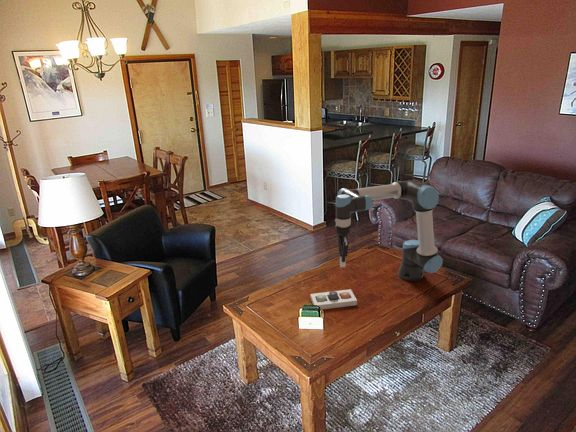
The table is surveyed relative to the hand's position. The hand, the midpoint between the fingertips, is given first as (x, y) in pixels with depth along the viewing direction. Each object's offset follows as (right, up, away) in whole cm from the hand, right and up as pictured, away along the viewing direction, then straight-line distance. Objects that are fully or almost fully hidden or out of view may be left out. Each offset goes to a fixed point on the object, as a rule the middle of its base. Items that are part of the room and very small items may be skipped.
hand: (342, 266), depth 212 cm
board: (-3, -22, +16) cm, 28 cm away
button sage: (-10, -22, +15) cm, 28 cm away
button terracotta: (+4, -21, +17) cm, 27 cm away
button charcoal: (-3, -20, +16) cm, 25 cm away
